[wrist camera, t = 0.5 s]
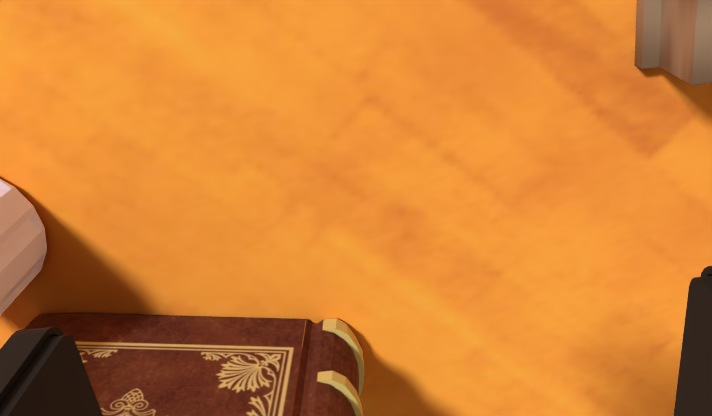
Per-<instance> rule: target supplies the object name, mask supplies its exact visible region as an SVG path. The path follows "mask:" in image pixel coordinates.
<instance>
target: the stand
mask: <svg viewBox="0 0 712 416" xmlns="http://www.w3.org/2000/svg"><path fill="white" fill-rule="evenodd" d="M635 66H637V67H639V68H640V69H646V68H654V67H659V68H661V69H663V70H665V71H667V72H668V73H670V74H672V75H674V76H676V77H677V78H679V79H681V80H683V81H684V82H686V83H688V84H690V85H698V84H705V83H712V0H637V18H636V45H635Z"/></svg>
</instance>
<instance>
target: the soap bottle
mask: <svg viewBox="0 0 712 416" xmlns="http://www.w3.org/2000/svg"><path fill="white" fill-rule="evenodd" d="M46 253H47V242H46V235H45V228H44V225H43V223H42V221H41V219H40V217H39V216H38V214H37V212H36V210H35V208H34V206H33V205H32V204H31V203H30V202H29V201H28V200H27V199H26V198H25V197H24V196H23V195H22V194H21V193H20V192H19V191H18V190H17V189H16V188H15V187H14V186H12V185H11V184H9V183H7V182H5V181H3V180H2V179H0V315H1V314H2V313H3V312H4V311H5V310H6V309H7V308H8V307H9V305H10V304H11V303H12V302H13V301H14V300H15V299H16V298H17V296H18V295H19V294H20V293H21V292H22V291H23V290H24V289H25V288H26V286H27V285H28V284H29V283H30V282H31V281H32V280H33V279H34V278H35V276H36V275H37V274H38V273H39V272H40V271H41V270H42V266H43V263H44V259H45V256H46Z"/></svg>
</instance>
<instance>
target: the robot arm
mask: <svg viewBox="0 0 712 416" xmlns="http://www.w3.org/2000/svg"><path fill="white" fill-rule="evenodd" d="M0 416H103V414H102V412H101V409H100V406H99V404H98V401H97V398H96V396H95V393H94V390H93V388H92V385H91V382H90V380H89V377H88V374H87V372H86V369H85V366H84V364H83V361H82V358H81V356H80V353H79V351H78V348H77V345H76V343H75V341H74V339H73V338H72V337H71V336H69V335H64V334H63V332H62V331H61V330H60V329H59V328H56V327H47V328H36V329H26V330H19V331H16V332H15V333H14V334H13V335H12V336H11V337H10V338H9V339H8V341H7V342H6V343H5V344H4V345H3V347H2V348H1V349H0ZM674 416H712V266H708V267H706V268H704V270H703V272H702V273H701V277H696V278H693V279H692V280H691V282H690V286H689V293H688V301H687V309H686V318H685V326H684V335H683V343H682V351H681V360H680V368H679V376H678V385H677V393H676V402H675V410H674Z"/></svg>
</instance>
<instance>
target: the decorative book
mask: <svg viewBox="0 0 712 416" xmlns="http://www.w3.org/2000/svg"><path fill="white" fill-rule="evenodd" d="M47 327H56V328H59V329H60V330H61V331H62V332H63V334H64V335H69V336H71V337H72V338H73V339H74V341H75V343H76V345H77V348H78V351H79V353H80V356H81V358H82V361H83V364H84V366H85V369H86V372H87V374H88V377H89V380H90V382H91V385H92V388H93V390H94V393H95V396H96V398H97V401H98V404H99V406H100V409H101V412H102V414H103V416H363V409H362V404H361V401H360V399H359V398H360V396H361V394H362V388H363V382H364V358H363V350H362V348H361V346H360V344H359V342H358V340H357V338H356V336H355V335H354V333H353V332H352V331H351V329H350V328H349V327H348V325H347V324H346V323H344V322H342V321H341V320H339V319H337V318H333V319H325V320H322V321H321V322H319V323H318V324H312V323H311V322H309V321H308V320H307V319H280V318H243V317H206V316H169V315H133V314H45V315H38V316H37V317H36V318H35V319H34V320H33V321H32V322H31V323H30V324H29V325H28V326H27V327H26V328H25V329H24V330H26V329H36V328H47Z"/></svg>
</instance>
